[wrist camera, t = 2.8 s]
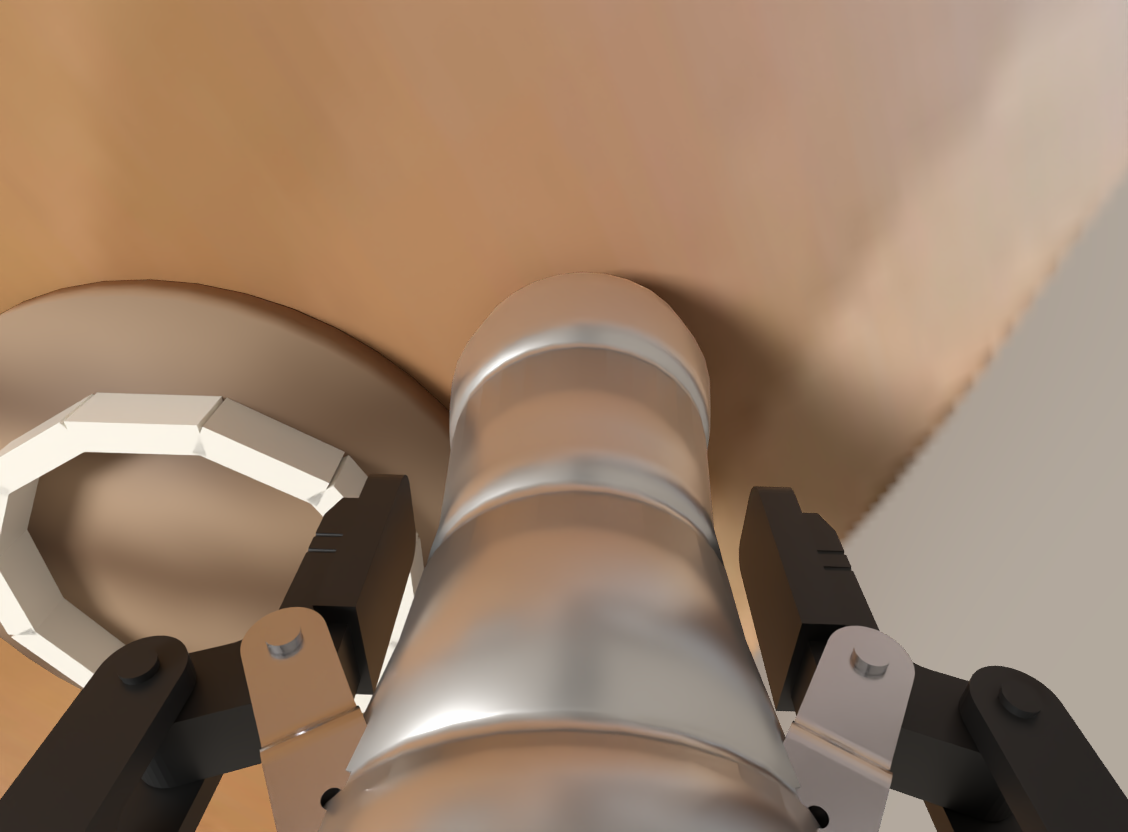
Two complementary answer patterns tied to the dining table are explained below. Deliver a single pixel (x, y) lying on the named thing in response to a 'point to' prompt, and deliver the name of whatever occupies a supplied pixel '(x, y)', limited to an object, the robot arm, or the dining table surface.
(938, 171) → the dining table surface
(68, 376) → the round tan coaster
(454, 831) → the plastic bottle
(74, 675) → the ring
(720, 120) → the dining table surface
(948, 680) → the robot arm
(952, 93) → the dining table surface
